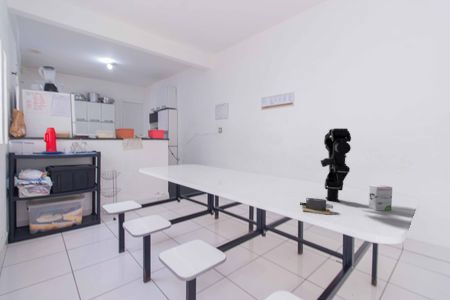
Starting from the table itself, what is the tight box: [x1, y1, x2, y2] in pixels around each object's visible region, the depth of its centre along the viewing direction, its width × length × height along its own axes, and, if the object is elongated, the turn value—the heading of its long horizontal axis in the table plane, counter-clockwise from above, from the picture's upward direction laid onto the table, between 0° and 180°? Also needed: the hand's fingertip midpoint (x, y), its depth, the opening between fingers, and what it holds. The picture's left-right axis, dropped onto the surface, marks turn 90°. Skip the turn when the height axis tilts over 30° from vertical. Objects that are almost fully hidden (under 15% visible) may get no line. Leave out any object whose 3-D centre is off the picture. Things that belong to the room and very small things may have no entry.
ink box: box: [368, 185, 393, 212], centre depth 107 cm, size 9×5×12 cm, turn 96°
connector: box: [299, 197, 334, 211], centre depth 104 cm, size 4×15×4 cm, turn 72°
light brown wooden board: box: [301, 205, 332, 216], centre depth 104 cm, size 10×12×1 cm
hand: (337, 183), depth 109 cm, fingers open, 9 cm apart
